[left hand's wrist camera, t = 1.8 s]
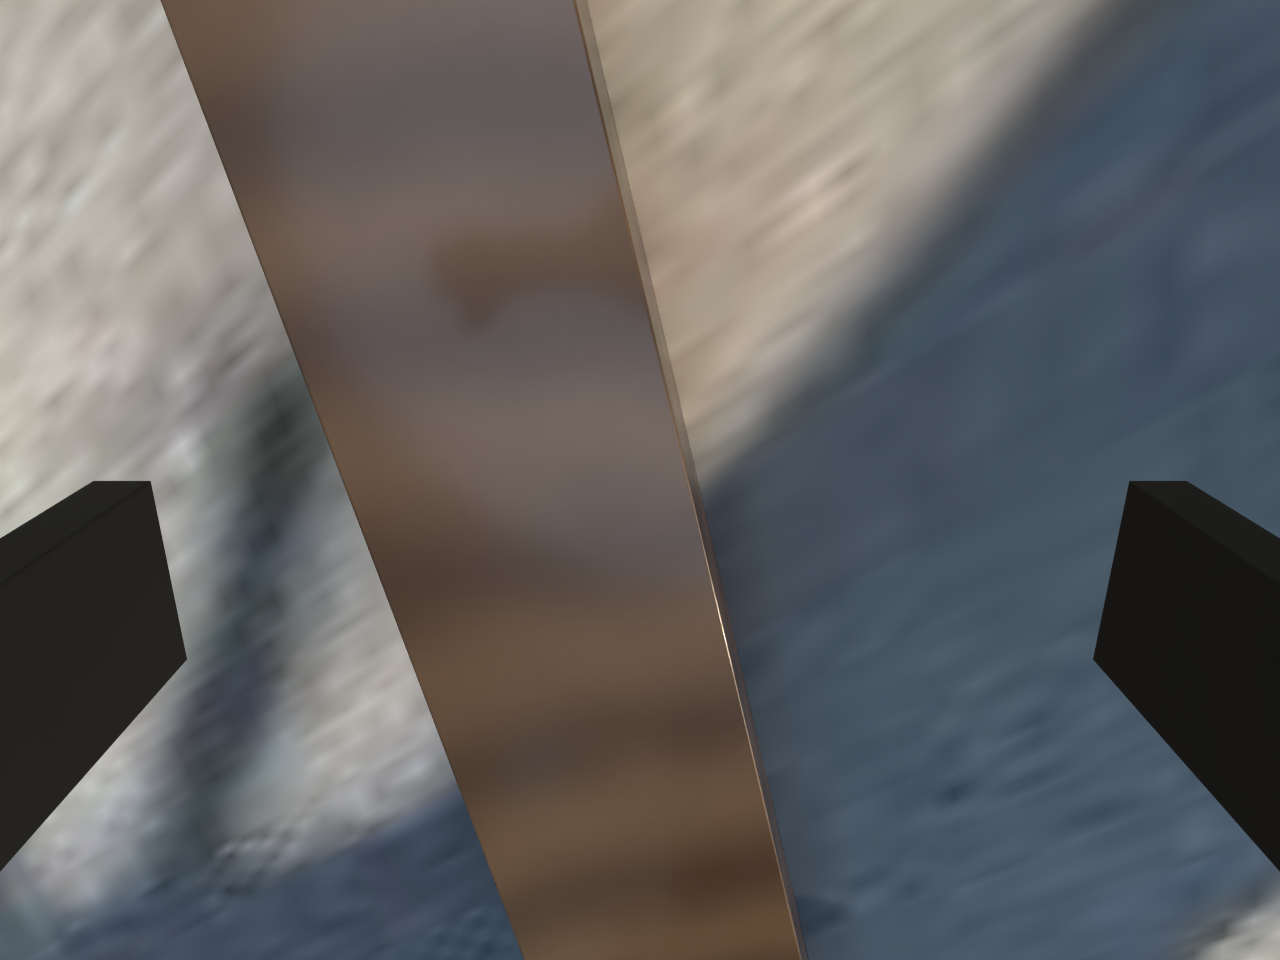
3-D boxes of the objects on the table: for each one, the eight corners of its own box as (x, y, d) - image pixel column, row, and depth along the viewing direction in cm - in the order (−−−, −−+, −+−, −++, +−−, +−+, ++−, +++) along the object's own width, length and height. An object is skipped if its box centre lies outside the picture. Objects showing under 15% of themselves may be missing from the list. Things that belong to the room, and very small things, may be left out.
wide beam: (247, -73, 26) (101, -152, 19) (549, -161, 25) (510, -277, 18) (688, 1220, 47) (694, 1411, 40) (863, 1196, 46) (902, 1386, 39)
